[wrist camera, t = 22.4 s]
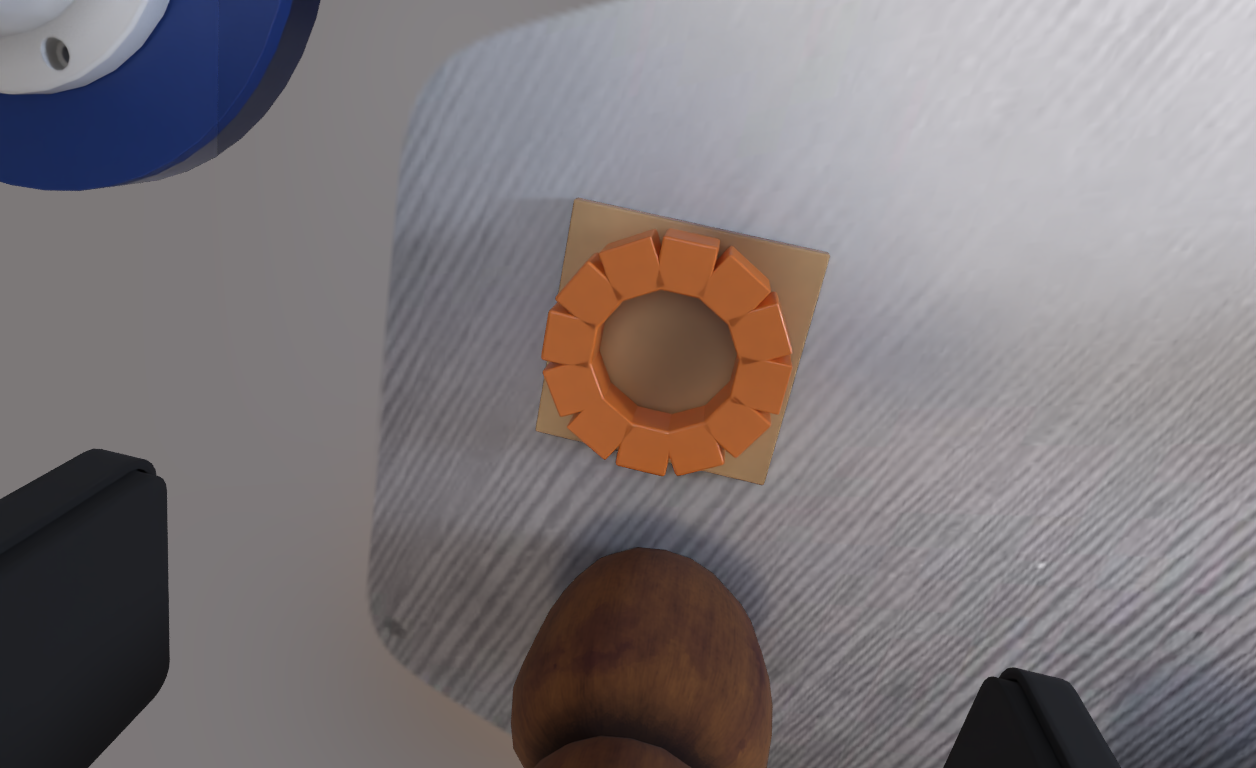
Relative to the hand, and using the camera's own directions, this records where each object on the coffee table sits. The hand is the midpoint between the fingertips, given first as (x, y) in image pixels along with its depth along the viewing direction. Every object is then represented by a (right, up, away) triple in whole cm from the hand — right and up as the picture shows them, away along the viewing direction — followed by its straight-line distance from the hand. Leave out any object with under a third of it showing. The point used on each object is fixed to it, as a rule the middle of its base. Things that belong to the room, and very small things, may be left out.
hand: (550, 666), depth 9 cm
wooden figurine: (+2, -4, +17) cm, 17 cm away
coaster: (+2, +4, +14) cm, 15 cm away
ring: (+2, +4, +13) cm, 14 cm away
